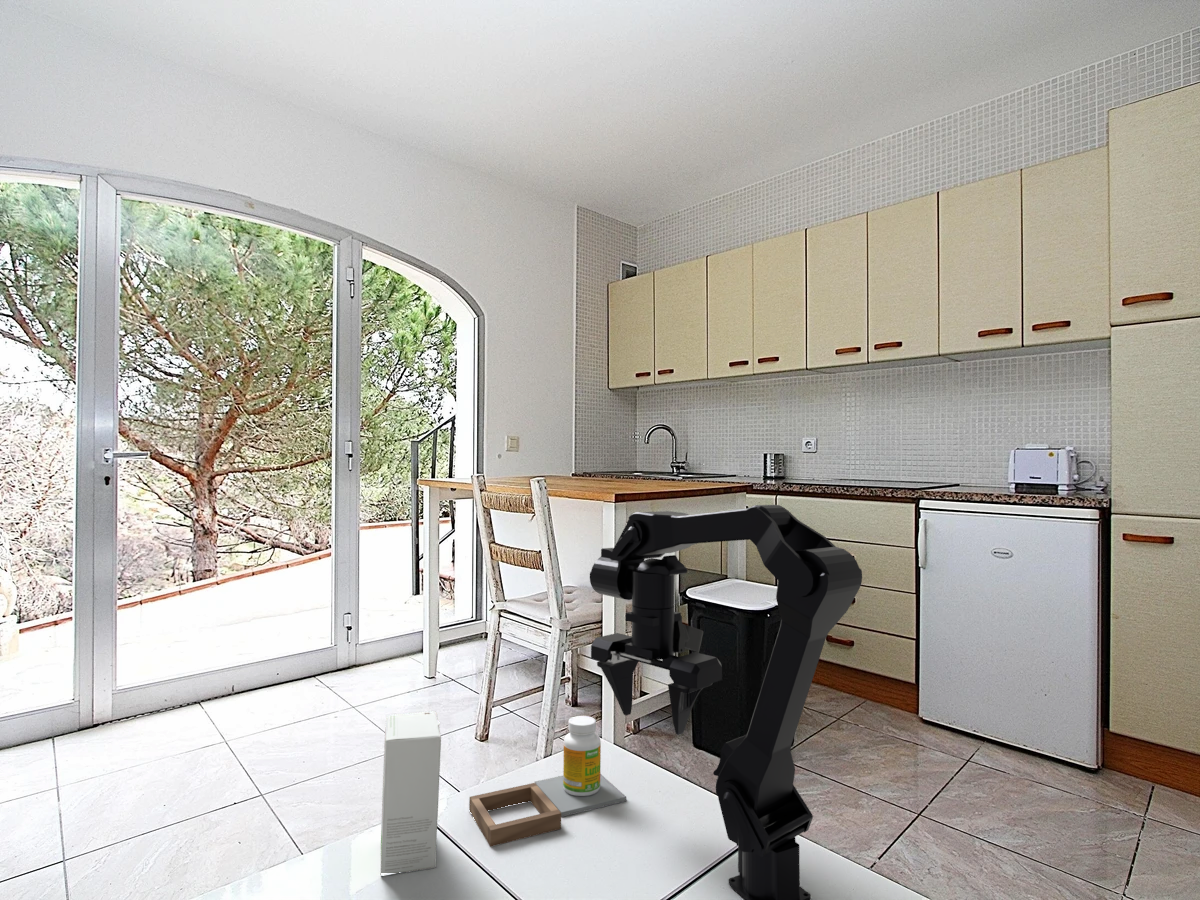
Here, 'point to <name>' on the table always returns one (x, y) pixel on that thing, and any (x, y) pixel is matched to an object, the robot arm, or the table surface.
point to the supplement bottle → (582, 757)
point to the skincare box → (410, 792)
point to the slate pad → (579, 803)
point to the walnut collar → (520, 827)
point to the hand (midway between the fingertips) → (652, 723)
